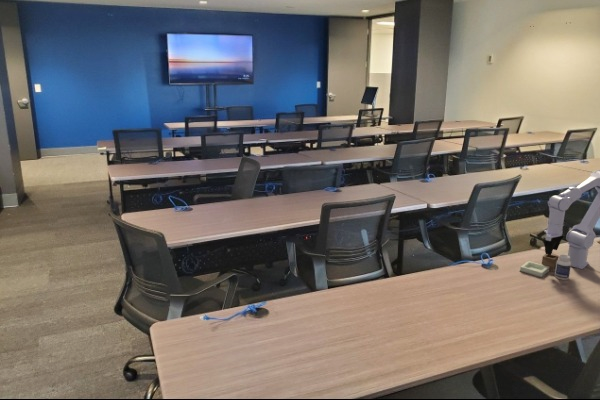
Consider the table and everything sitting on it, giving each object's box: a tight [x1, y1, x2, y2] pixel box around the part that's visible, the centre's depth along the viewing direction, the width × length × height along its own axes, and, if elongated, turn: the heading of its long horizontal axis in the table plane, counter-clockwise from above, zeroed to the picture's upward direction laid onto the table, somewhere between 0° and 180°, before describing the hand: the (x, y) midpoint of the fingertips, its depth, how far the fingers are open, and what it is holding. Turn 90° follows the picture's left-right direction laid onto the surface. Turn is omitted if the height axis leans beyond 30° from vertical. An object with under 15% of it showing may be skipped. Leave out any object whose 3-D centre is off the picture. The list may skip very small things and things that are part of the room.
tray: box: [519, 260, 550, 278], centre depth 201 cm, size 9×9×2 cm
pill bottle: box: [554, 254, 572, 281], centre depth 194 cm, size 5×5×10 cm
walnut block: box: [541, 253, 560, 273], centre depth 204 cm, size 5×5×6 cm
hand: (551, 251), depth 202 cm, fingers open, 7 cm apart
